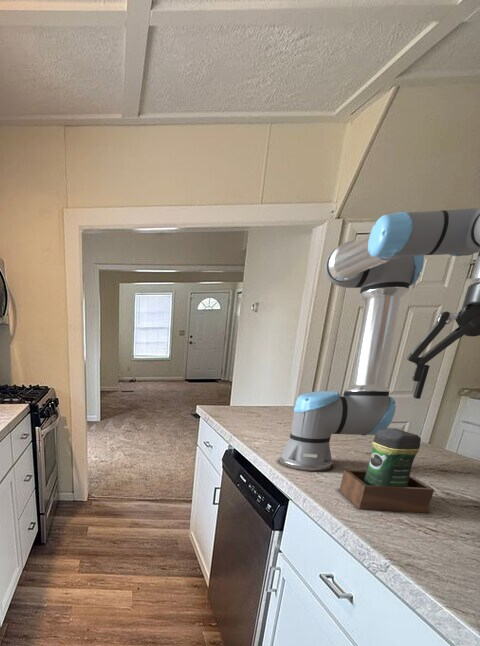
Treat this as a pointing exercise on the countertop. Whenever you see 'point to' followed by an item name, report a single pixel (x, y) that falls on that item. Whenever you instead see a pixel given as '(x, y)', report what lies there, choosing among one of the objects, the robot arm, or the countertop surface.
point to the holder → (385, 494)
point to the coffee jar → (392, 458)
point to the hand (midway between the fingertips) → (457, 399)
